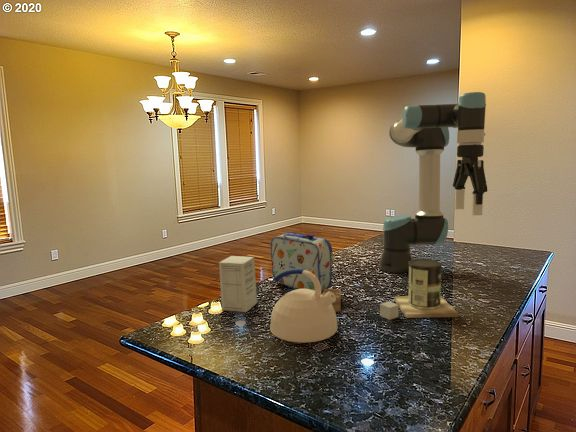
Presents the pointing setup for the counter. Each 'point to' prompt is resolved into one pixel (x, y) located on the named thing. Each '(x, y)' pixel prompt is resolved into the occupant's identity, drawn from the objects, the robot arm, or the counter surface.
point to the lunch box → (302, 259)
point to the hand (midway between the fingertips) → (467, 212)
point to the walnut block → (336, 302)
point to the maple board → (413, 312)
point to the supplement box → (238, 283)
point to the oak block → (337, 291)
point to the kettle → (304, 313)
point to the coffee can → (424, 284)
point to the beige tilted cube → (389, 310)
